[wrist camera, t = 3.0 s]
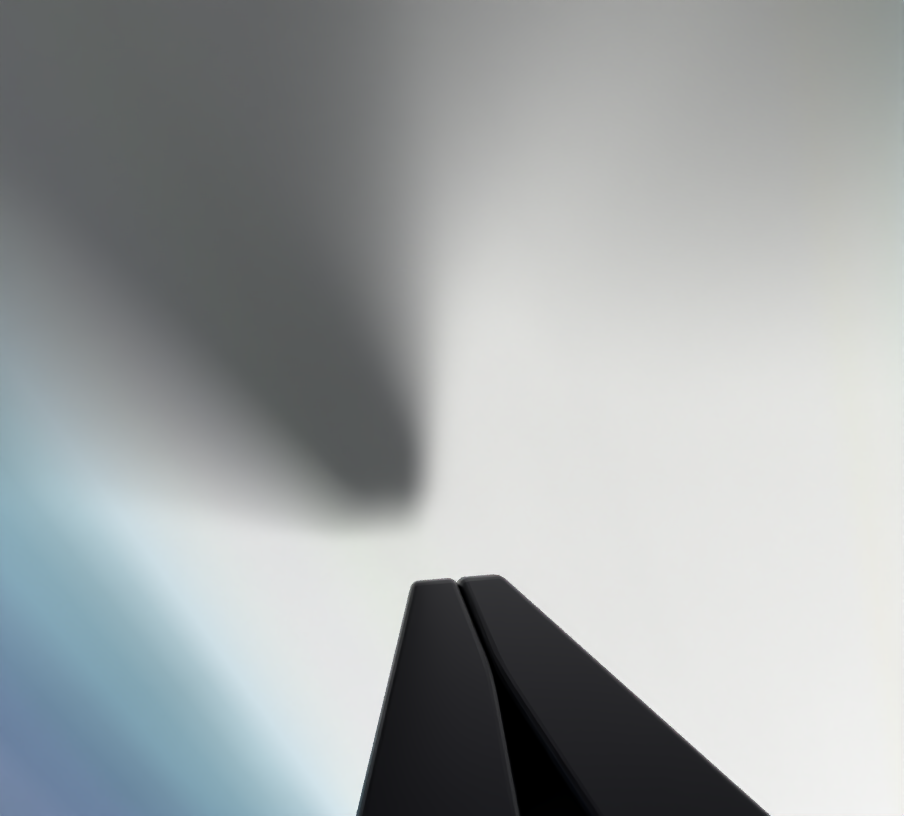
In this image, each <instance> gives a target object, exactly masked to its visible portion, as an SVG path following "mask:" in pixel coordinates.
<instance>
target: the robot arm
mask: <svg viewBox="0 0 904 816" xmlns="http://www.w3.org/2000/svg"><path fill="white" fill-rule="evenodd" d="M356 816H770V815H769V814H768V813H767V812H766V811H765V810H764V809H762V808H761V807H760V806H759V805H758V804H757V803H756V802H755V801H753V800H752V799H751V798H750V797H749V796H748V795H747V794H746V793H745V792H743V791H742V790H741V789H740V788H739V787H738V786H737V785H736V784H734V783H733V782H732V781H731V780H730V779H729V778H728V777H727V776H725V775H724V774H723V773H722V772H721V771H720V770H719V769H718V768H717V767H715V766H714V765H713V764H712V763H711V762H710V761H709V760H708V759H706V758H705V757H704V756H703V755H702V754H701V753H700V752H699V751H698V750H696V749H695V748H694V747H693V746H692V745H691V744H690V743H689V742H687V741H686V740H685V739H684V738H683V737H682V736H681V735H680V734H678V733H677V732H676V731H675V730H674V729H673V728H672V727H671V726H670V725H668V724H667V723H666V722H665V721H664V720H663V719H662V718H661V717H659V716H658V715H657V714H656V713H655V712H654V711H653V710H652V709H650V708H649V707H648V706H647V705H646V704H645V703H644V702H643V701H642V700H640V699H639V698H638V697H637V696H636V695H635V694H634V693H633V692H631V691H630V690H629V689H628V688H627V687H626V686H625V685H624V684H623V683H621V682H620V681H619V680H618V679H617V678H616V677H615V676H614V675H612V674H611V673H610V672H609V671H608V670H607V669H606V668H605V667H603V666H602V665H601V664H600V663H599V662H598V661H597V660H596V659H595V658H593V657H592V656H591V655H590V654H589V653H588V652H587V651H586V650H584V649H583V648H582V647H581V646H580V645H579V644H578V643H577V642H576V641H574V640H573V639H572V638H571V637H570V636H569V635H568V634H567V633H565V632H564V631H563V630H562V629H561V628H560V627H559V626H558V625H556V624H555V623H554V622H553V621H552V620H551V619H550V618H549V617H548V616H546V615H545V614H544V613H543V612H542V611H541V610H540V609H539V608H537V607H536V606H535V605H534V604H533V603H532V602H531V601H530V600H528V599H527V598H526V597H525V596H524V595H523V594H522V593H521V592H520V591H518V590H517V589H516V588H515V587H514V586H513V585H512V584H511V583H509V582H508V581H507V580H506V579H505V578H503V577H501V576H499V575H494V574H493V575H481V576H469V577H462V578H461V579H459V580H458V581H457V583H456V581H454V580H452V579H451V578H444V579H432V580H420V581H415V582H414V583H413V584H412V585H411V588H410V591H409V595H408V600H407V604H406V608H405V612H404V617H403V621H402V625H401V629H400V633H399V638H398V642H397V646H396V650H395V654H394V659H393V663H392V667H391V671H390V675H389V680H388V684H387V688H386V692H385V696H384V701H383V705H382V709H381V713H380V717H379V722H378V726H377V730H376V734H375V738H374V743H373V747H372V751H371V755H370V759H369V764H368V768H367V772H366V776H365V780H364V785H363V789H362V793H361V797H360V801H359V806H358V810H357V814H356Z"/></svg>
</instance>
